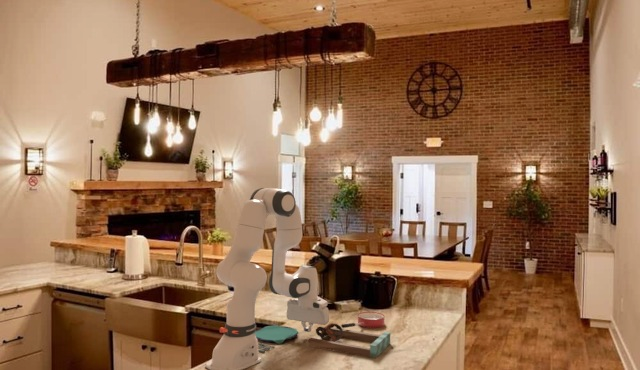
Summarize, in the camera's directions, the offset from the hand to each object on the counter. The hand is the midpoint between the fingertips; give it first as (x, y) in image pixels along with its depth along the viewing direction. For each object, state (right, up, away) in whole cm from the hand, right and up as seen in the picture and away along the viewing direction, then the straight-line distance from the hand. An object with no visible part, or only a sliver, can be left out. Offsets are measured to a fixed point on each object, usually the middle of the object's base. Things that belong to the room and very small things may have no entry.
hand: (307, 331), depth 224 cm
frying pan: (+26, -3, +12) cm, 29 cm away
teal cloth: (-17, -3, -3) cm, 18 cm away
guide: (+19, -3, -9) cm, 21 cm away
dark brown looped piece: (+10, -3, -3) cm, 11 cm away
